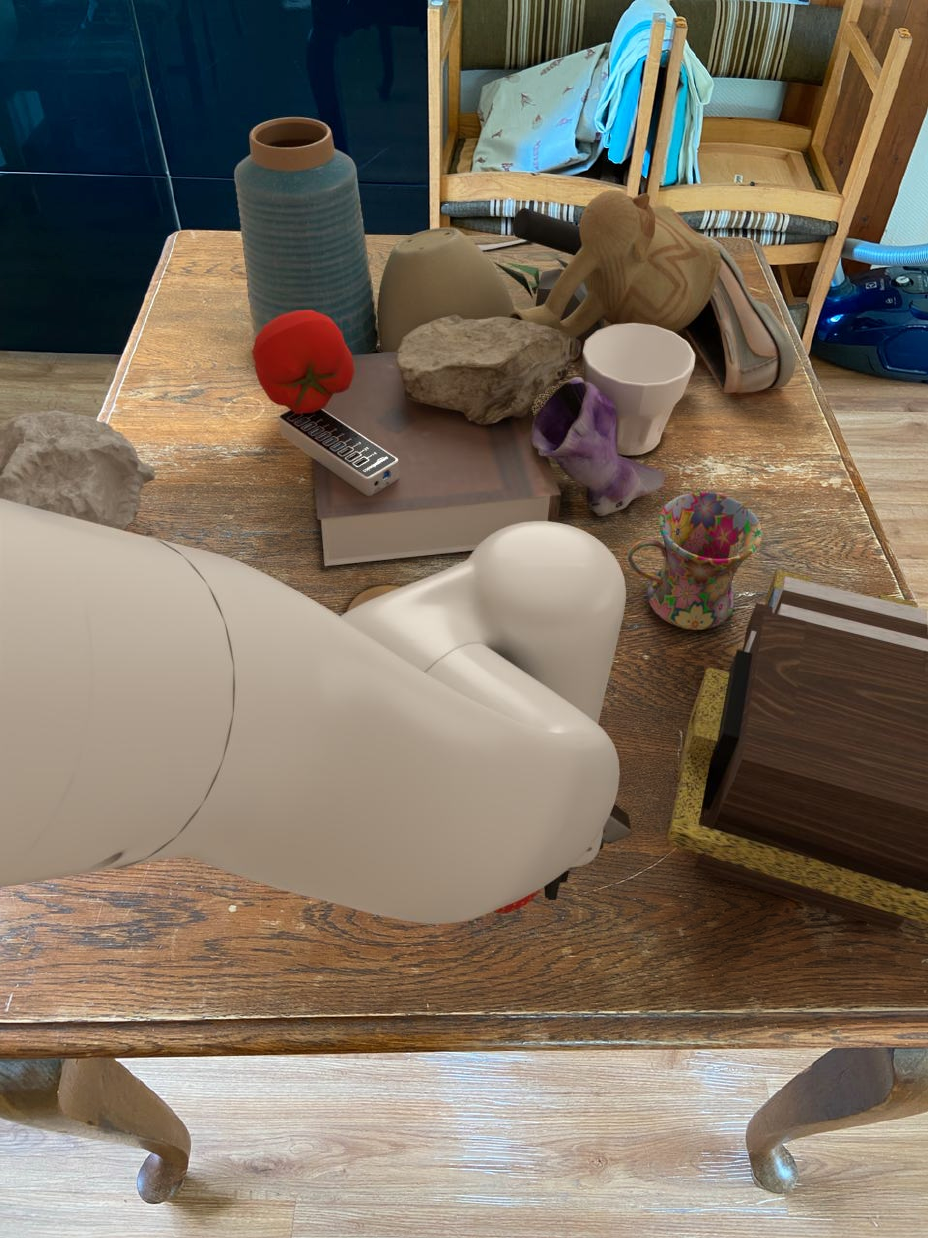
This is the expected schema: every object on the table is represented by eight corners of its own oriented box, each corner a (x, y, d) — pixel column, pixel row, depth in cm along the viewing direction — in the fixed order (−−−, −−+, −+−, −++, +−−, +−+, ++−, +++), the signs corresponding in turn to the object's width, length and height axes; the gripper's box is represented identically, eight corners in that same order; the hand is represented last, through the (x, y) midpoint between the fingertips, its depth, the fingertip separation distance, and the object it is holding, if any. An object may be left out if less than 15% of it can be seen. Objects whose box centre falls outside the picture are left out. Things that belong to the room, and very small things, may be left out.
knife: (555, 232, 142) (555, 227, 141) (561, 238, 140) (561, 233, 140) (438, 253, 139) (438, 247, 138) (442, 260, 137) (442, 254, 137)
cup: (670, 403, 112) (688, 323, 104) (683, 468, 104) (703, 386, 96) (570, 401, 112) (579, 320, 104) (575, 465, 104) (585, 383, 96)
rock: (411, 452, 100) (587, 403, 95) (379, 372, 95) (562, 316, 89) (433, 394, 113) (589, 348, 108) (406, 321, 108) (567, 269, 103)
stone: (138, 509, 87) (70, 609, 93) (190, 440, 101) (128, 531, 108) (-31, 399, 81) (-90, 513, 88) (49, 342, 95) (-7, 444, 102)
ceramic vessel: (764, 252, 108) (642, 227, 91) (668, 384, 120) (544, 383, 103) (674, 171, 114) (544, 134, 97) (592, 304, 126) (464, 292, 110)
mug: (718, 565, 94) (742, 487, 86) (748, 633, 88) (777, 555, 80) (605, 576, 93) (619, 498, 85) (628, 646, 87) (646, 568, 79)
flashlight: (639, 255, 133) (640, 288, 133) (508, 211, 120) (508, 248, 119) (665, 242, 129) (665, 276, 129) (531, 195, 115) (532, 233, 115)
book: (506, 388, 114) (508, 342, 109) (555, 541, 96) (560, 494, 91) (312, 405, 112) (305, 359, 107) (324, 566, 93) (317, 519, 88)
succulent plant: (483, 348, 120) (485, 287, 114) (501, 273, 133) (503, 215, 127) (602, 358, 119) (610, 298, 112) (608, 281, 132) (616, 223, 125)
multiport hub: (311, 416, 99) (308, 399, 98) (401, 477, 93) (400, 459, 91) (279, 434, 97) (276, 416, 95) (368, 497, 90) (367, 479, 89)
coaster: (427, 649, 86) (427, 645, 86) (343, 651, 86) (343, 647, 86) (427, 588, 92) (427, 584, 91) (348, 589, 92) (348, 585, 91)
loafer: (691, 205, 122) (628, 222, 121) (811, 331, 106) (740, 353, 105) (681, 274, 131) (622, 291, 130) (791, 401, 115) (725, 422, 113)
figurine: (539, 476, 91) (634, 542, 99) (605, 394, 89) (697, 469, 97) (508, 441, 99) (598, 505, 107) (568, 364, 96) (656, 436, 104)
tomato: (319, 284, 88) (342, 332, 86) (350, 352, 98) (371, 397, 96) (228, 326, 88) (248, 376, 86) (269, 390, 98) (288, 436, 96)
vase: (232, 341, 121) (187, 128, 101) (332, 300, 128) (309, 93, 108) (301, 396, 113) (268, 176, 93) (404, 349, 120) (393, 135, 100)
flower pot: (325, 265, 112) (354, 358, 119) (434, 265, 101) (459, 368, 108) (418, 215, 121) (439, 303, 128) (526, 210, 110) (543, 307, 118)
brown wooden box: (706, 624, 90) (650, 886, 70) (743, 508, 79) (691, 777, 59) (929, 681, 85) (938, 977, 65) (999, 567, 75) (1036, 877, 55)
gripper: (362, 788, 46) (379, 936, 59) (696, 785, 46) (638, 932, 60) (369, 673, 51) (382, 833, 64) (670, 671, 52) (621, 830, 65)
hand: (506, 879), depth 62 cm, fingers closed on fruit, 5 cm apart
